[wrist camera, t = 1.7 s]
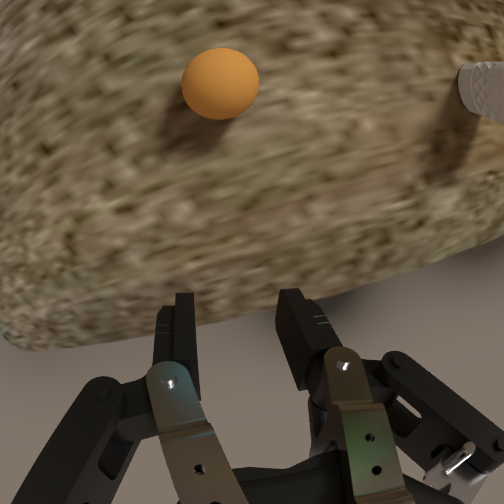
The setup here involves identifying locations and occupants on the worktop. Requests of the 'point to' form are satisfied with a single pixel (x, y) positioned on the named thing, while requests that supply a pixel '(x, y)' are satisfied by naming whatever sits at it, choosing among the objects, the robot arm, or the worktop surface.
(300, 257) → the worktop surface
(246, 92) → the ball
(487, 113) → the white cup
